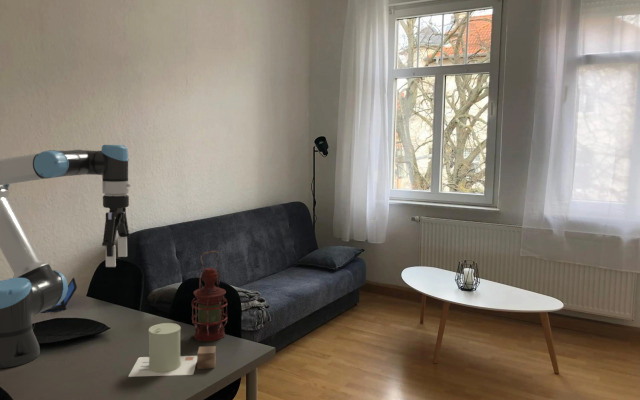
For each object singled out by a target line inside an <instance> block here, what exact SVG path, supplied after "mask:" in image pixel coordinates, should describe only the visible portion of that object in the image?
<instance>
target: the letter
mask: <svg viewBox="0 0 640 400" xmlns="http://www.w3.org/2000/svg"><path fill="white" fill-rule="evenodd" d="M180 361H181V365H180V367H179V368H177V369H175V370H173V371H169V372H154V371H152V370H150V369H149V356H141V357H138V358H137V359H136V362H135V364H134V366H133V367H132V369H131V371H130V373H129V374H128V378H130V377H131V378H133V377H134V378H135V377H158V376H159V377H161V376H162V377H163V376H166V377H167V376H191V375H192V376H193V375H194V372H195V369H196V366H197V355H183V356H182V355H180Z"/></svg>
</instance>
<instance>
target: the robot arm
mask: <svg viewBox="0 0 640 400" xmlns="http://www.w3.org/2000/svg"><path fill="white" fill-rule="evenodd" d="M81 175H82V176H84V175H85V176H86V175H88V176H89V175H93V176H95V175H97V176H102V188H101V189H102V194H103V196H102V208H106V209H109V211H108V212H105V223H104V229H103V240H102V243H101V246H102V247H104V248H105V268H116V266H117V263H116V262H117V260H116V259H117V257H118V258H121V257H122V258H127V257H128V237H130V236H131V234H130V233H129V232H130V231H129V226H128V225H129V224H128V218H127V210H126V208H128V207H129V206H130V201H129V200H130V196H129V195H128V194H129V188H130V187H131V184H130V183H129V152H128V146H126V145H124V144H103V145H101V150H89V149H88V150H87V149H85V150H83V149H71V150H55V149H52V150H44V151H41V152H39V153H33V154H32V153H31V154H26V155H25V154H24V155H19V156H13V157H6V158H0V251H1V252H2V254H3V256H4V257H5V259H6V262H7V263H8V265H9V267H10V269H11V270H12V273H13V276H12V277H11V278H8V279H2V280H0V369H5V368H12V367H17V366H22V365H25V364H28V363H30V362H32V361H34V360H35V359H37V358H38V357H39V356H40V354H41V353H40V352H41V351H40V343H39V342H38V340H37V337H36V335H35V333H34V331H33V316H36V315H38V314H40V313H41V312H43V311H45V310H47V309H51V308H53V307H55V306H56V305H57V304H59V303H61V302H62V301H63V300H64V298H65V297H66V294H67V291H68V285H69V284H68V280H67V279H66V277H65V275H64V274H63V273H62V272H60V271H58V270H53V269H52V267H51V265H50V263H48V262H45V261H43V260H41V257H40V256H39V253H38V252H37V250H36V248H35V247H34V244H33V242H32V241H31V239H30V237H29V236H28V234H27V232H26V230H25V227H23V225H22V223H21V221H20V219H19V218H18V217H19V216H18V215H17V213H16V212H15V210H14V208H13V206H12V204H11V203H10V201H9V199H8V197H9V195H10V189H9V187H10V186H11V184H12V185H13V184H18V183H26V182H31V181H32V182H33V181H39V180H46V179H52V178H53V179H55V178H61V177H62V178H63V177H68V176H70V177H71V176H81ZM117 234H118V236H117ZM116 237H117V249H116V244H115V242H116ZM116 250H117V252H116ZM116 253H117V255H116ZM116 256H117V257H116Z"/></svg>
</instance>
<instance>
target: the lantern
mask: <svg viewBox="0 0 640 400" xmlns="http://www.w3.org/2000/svg"><path fill="white" fill-rule="evenodd" d="M211 253H216V254H217V258H216V260H215V266H216V268H214V267H206V268H204V267H202V268H201V271H200V273H199V281H198V282H199V283H198V284H199V285H198V286H199V287H198V288H197V289H195V290H194V291H193V295H194V297H193V299H192V300H191V309H192V311H191V314H192V315H191V321H192V324H193V325H194V327H195V328H194V330H195V332H194V335H193V338H194V339H195V340H196V341H199V342H205V343H206V342H208V343H209V342H215V341H216V342H217V341H220V340H222V338H223V337H224V336H226V333H225V326H226V324H227V323H228V305H229V304H228V300H227V298H226V297H225V295H226V294H227V293H226V292H227V291H226V289H224V288H221V287H220V286H219V285H220V283H221V282H220V281H221V280H220V279H221V278H220V277H221V276H220V275H221V273H220V269H219V268H218V263H217V262H218V259H219V255H220V253H219V251H217V250H210V251H206V252H203V253H202V254H201V255H200V261H201V264H202V265H204V262H203V260H202V257H203V256H204V255H207V254H211ZM216 269H217V270H218V271H217V270H216ZM201 281H202V282H204V286H203V284H202V282H201ZM215 283H216V285H217V286H216V285H215ZM224 303H225V304H224ZM224 308H225V313H224ZM194 310H195V314H194ZM224 317H225V318H224ZM194 318H195V319H194ZM224 322H225V323H224ZM223 323H224V324H223ZM224 338H225V337H224ZM224 338H223V339H224Z"/></svg>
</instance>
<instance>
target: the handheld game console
mask: <svg viewBox="0 0 640 400" xmlns="http://www.w3.org/2000/svg"><path fill="white" fill-rule="evenodd" d="M77 288H78V286H77V283H76V278H75V277H72V279H71V280H70V282H69V284H68V291H67V294H66V297H65V298H64V300H63V301H62V302H61V303H59V304H57V305H56V306H55V307H53V308H51V309H47V310H45V311H43V312H41V313H42V314H43V313H51V312H59V311H66V310H67V306H68V303H69V302H70V301H71V298H72V297H73V295H74V294H75V293H76V291H77Z"/></svg>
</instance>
